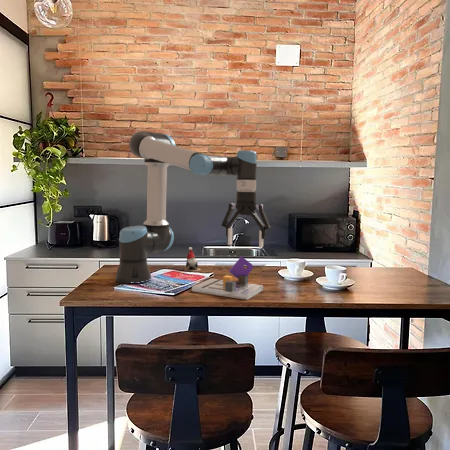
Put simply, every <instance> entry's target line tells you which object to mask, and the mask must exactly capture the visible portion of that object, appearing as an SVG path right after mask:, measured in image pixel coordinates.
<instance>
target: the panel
mask: <svg viewBox="0 0 450 450" xmlns="http://www.w3.org/2000/svg"><path fill="white" fill-rule="evenodd" d="M237 280H238V281H236V280H233V281H227V282H225V286H224V285H223V279H217V278H208V279H206V280H204V281H202V282H199V283H197V284H195V285H193V286H192V287H191V292H193V293H200V294H207V295H208V294H209V295H212V296H220V297H226V298H234V299H238V300H239V299H240V300H247V301H248V300H249V299H251V298H253V297H255V296H256V295H257V294H259V293H261V292H262V291H264V285H261V284H255V283H249V274H248V275H239V277H238V278H237Z"/></svg>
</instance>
